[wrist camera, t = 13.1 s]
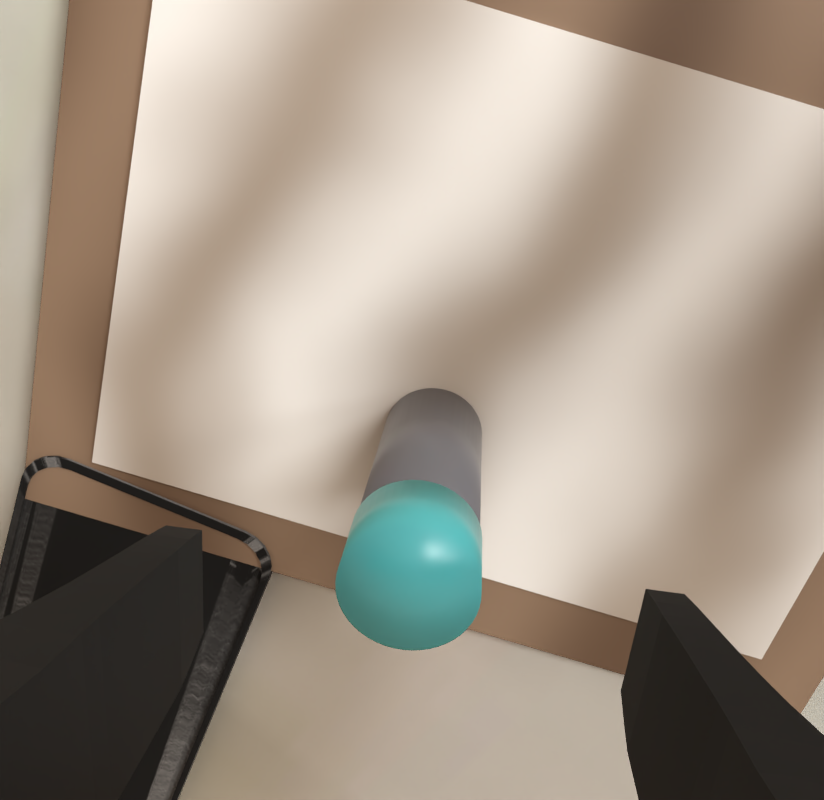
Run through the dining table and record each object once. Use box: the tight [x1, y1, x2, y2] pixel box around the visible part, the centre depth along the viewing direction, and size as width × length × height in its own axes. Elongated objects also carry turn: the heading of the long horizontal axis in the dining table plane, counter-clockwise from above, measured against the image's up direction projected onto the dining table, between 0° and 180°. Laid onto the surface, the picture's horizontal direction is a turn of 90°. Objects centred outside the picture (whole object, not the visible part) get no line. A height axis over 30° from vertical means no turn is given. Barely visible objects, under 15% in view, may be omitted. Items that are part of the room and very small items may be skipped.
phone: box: [0, 456, 273, 800], centre depth 26 cm, size 8×1×15 cm
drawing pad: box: [25, 0, 824, 714], centre depth 20 cm, size 24×18×1 cm
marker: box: [335, 388, 482, 650], centre depth 17 cm, size 3×3×7 cm
